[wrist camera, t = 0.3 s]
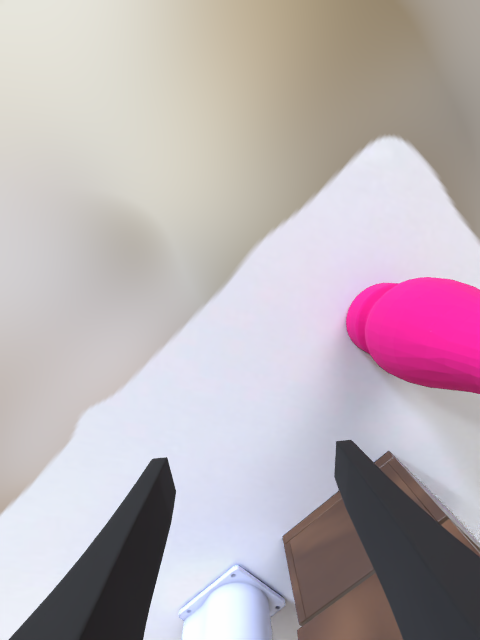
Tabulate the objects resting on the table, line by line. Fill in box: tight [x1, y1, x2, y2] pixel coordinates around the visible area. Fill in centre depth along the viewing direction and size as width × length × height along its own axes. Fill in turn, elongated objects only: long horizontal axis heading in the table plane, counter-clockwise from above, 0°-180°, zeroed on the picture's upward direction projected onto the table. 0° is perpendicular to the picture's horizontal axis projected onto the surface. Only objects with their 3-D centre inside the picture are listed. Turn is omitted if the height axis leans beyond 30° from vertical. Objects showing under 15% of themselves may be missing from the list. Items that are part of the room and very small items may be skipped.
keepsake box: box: [283, 451, 480, 626], centre depth 21 cm, size 12×15×6 cm
